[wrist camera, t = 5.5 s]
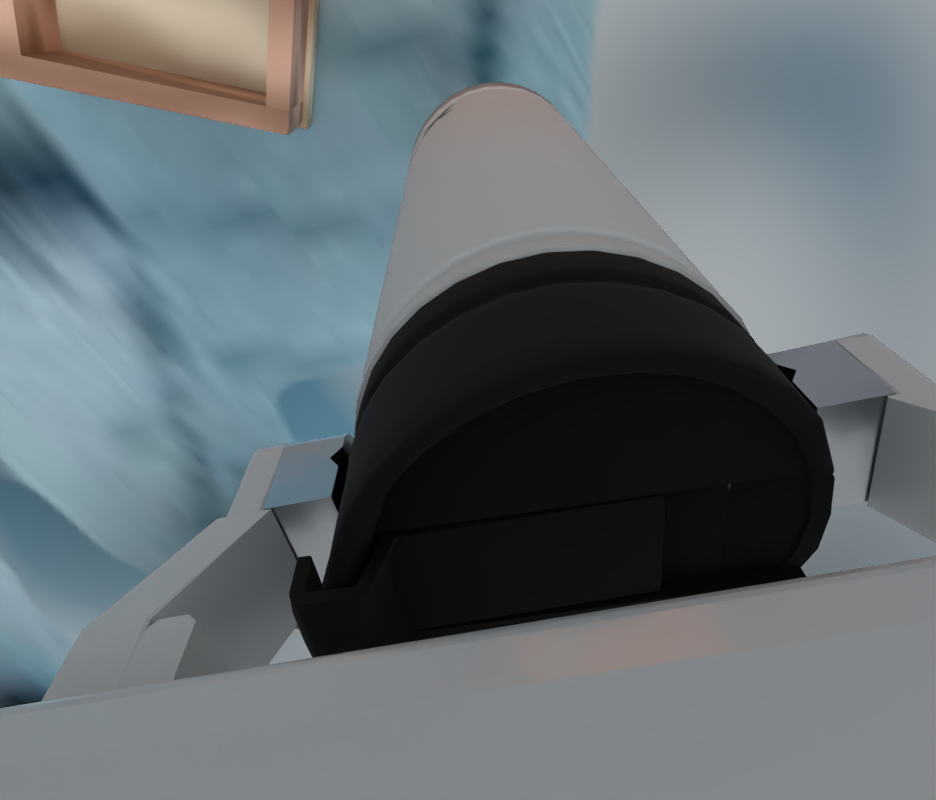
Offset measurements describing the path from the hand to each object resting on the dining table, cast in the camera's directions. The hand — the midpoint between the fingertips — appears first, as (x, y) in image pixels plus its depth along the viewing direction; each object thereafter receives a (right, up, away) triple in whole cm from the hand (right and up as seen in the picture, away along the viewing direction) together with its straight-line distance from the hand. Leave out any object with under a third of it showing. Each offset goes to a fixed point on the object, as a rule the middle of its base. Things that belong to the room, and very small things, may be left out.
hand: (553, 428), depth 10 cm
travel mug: (-1, +9, +14) cm, 17 cm away
